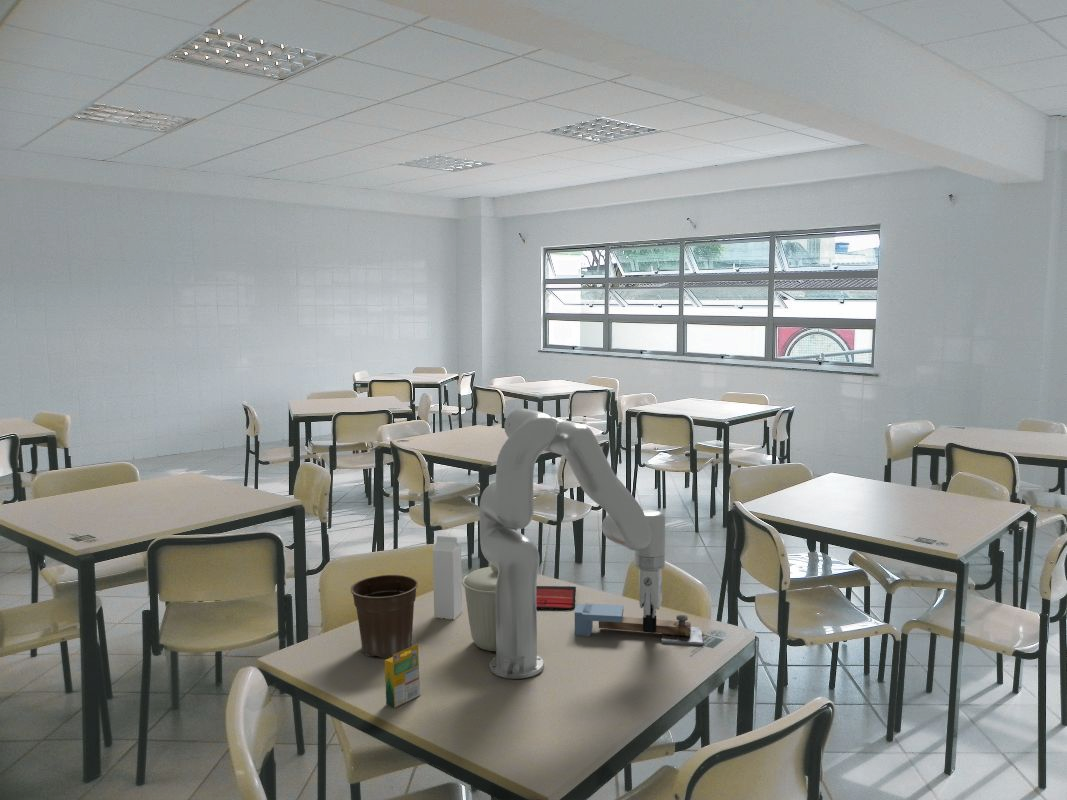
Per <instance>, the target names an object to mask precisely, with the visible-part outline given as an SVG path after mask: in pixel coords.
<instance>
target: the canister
mask: <svg viewBox="0 0 1067 800" xmlns="http://www.w3.org/2000/svg"><path fill="white" fill-rule="evenodd" d="M497 578H498V568H496V567H495V566H494V565H493V564H491V565H490V566H487V567H481V568H478V569H475V570H473V571H471V572H469V573H468V574H466V575H465V576H464V577H463V578H462V587H464V593H465V601H466V609H467V615H468V622H469V623H468V624H469V628H470V629H469V630H470V635H471V639H472V641H473V643H474V644H475V645H476V646H477V647H478V648H480V649H482V650H484V651H489V652H496V615H495V588H496V582H497Z"/></svg>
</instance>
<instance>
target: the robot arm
mask: <svg viewBox="0 0 1067 800" xmlns="http://www.w3.org/2000/svg"><path fill="white" fill-rule="evenodd" d="M503 427H504V433H505V435H506V436H507V440H506V441H505V442H504V443H503V445H502V446H501V448H500V450H499V453H498V454H497V455H498V456H497V460H496V468H495V469H496V472H495V481H493V482H492V483H490V484H489V485H488V486H486V488H485V489H484V490H483V492H482V494H481V496H480V499H479V500H480V501H479V539H480V541H479V542H480V549H481V552H482V555H483V557H484V558H485V559H486V560H487V562H488V563H490V564H491V565H492V564H493V565H494V566H495V567H496V568H498V578H497V582H496V588H495V615H496V651H495V656H494V657H493V658H492V659H491V660H490V661H489V670H490V672H491V673H493V675H496V676H498V677H500V678H504V679H509V680H510V679H511V680H513V679H514V680H517V679H519V680H520V679H527V678H531V677H534V676H537V675H539V674H540V673H542V671H543V670H544V668H545V662H544V659H543V658H542V657H540V656H539V655H538V628H537V627H538V625H537V623H538V621H537V620H538V619H537V617H538V616H537V615H538V613H537V610H538V609H537V602H536V586H538V585H537V584H538V583H537V582H538V576H539V575H538V574H539V568H540V553H539V549H538V547H537V545H536V544H535V543H534V542H533V540H531V539H530V538H529V537H528V536H526V535H524V534H523V533H520V532H519V531H518V530H522V529H525V528H527V527H528V526H529V525H530V524H531V522H532V519H533V517H534V511H535V510H534V509H535V508H534V474H535V473H534V469H535V464H536V462H537V460H538V458H539V457H540V455H541V454H542V453H543V452H544V451H545V452H549V453H553V454H554V453H555V454H557V455H561V456H564V458H565V460H566V461H567V463H568V465H569V467H570V469H571V470H572V472H573V474H574V476H575V478H576V481H578V484H579V486H580V488H581V489H582V491H583V492H584V493H585V494H586V495H587V496H588V497H589V498H590V500H592V501H593V502H594V503H596V504H597V505H599V506H600V508H602V509H603V510H604V511H605V512H606V513H607V515H606V516H605V517H604V518H603V521H602V522H601V531H602V534H603V535H604V536H605V538H607V540H610V541H611V542H613V543H615V544H617V545H620V546H621V547H623V548H626V549H628V550H630V551H633V552H634V567H635V568H636V569H638V574H639V575H638V591H639V592H638V596H639V598H638V599H639V607H640V608H641V609H643V611H642V612H643V616H642V618H643V632H642V633H648V634H649V633H651V634H656V633H655V632H656V619H657V615H656V613H657V611H658V610H659V609H660V608H661V605H662V601H663V576H662V573H663V572H662V570H663V569H665V567H666V517H665V514H664V513H663V512H662V511H658V510H655V509H644V510H643V509H642V507H641V505H640V504H639V502H638V501H637V500H636V498H635V497H634V496H633V494H632V493H631V491H629V490H628V488H627V487H626V485H624V483H623V482H622V481H621V480H620V479H619V478H618V476H617V475H616V473H615V472H614V470H613V468H612V467H611V465H610V463H609V461H608V459H607V457H606V455H605V453H604V451H603V449H602V446H601V445H600V444H599V441H598V439H597V438H596V436H595V434H594V433H593V431H592V429H591V428H590V427H588V426H587V425H585V424H584V423H583V424H582V423H580V422H574V421H571V420H565V419H561V418H557V417H553V416H550V414H547V413H544V412H543V411H538V410H532V409H528V408H518V409H514V410H513V411H511V412H510V413H509V414H508V415H507V416H506V418H505V421H504V426H503Z"/></svg>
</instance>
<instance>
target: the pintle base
mask: <svg viewBox="0 0 1067 800" xmlns="http://www.w3.org/2000/svg"><path fill="white" fill-rule="evenodd" d="M703 641H704V640H703V631H702V627H701V626H691V633H690V636H687V635H675V634H663V633H661V644H664V645H666V644H667V645H668V644H669V645H683V646H684V645H685V646H699V645H703V644H704V642H703Z"/></svg>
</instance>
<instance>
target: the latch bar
mask: <svg viewBox="0 0 1067 800" xmlns="http://www.w3.org/2000/svg"><path fill="white" fill-rule="evenodd" d="M688 619H689V618H688V616H687V615H685V614H678V615H676V620H667V619H657V618H656V632H655V633H654V634H662V633H663V634H675V635H687V636H690V633H691V627H692V626H691V624H692V623H691V621H688ZM598 629H607V630H617V631H627V632H628V631H631V632H642V633H644V632H643V617H633V616H632V617H631V616H623V617H622V623H621V622H603V621H598Z"/></svg>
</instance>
